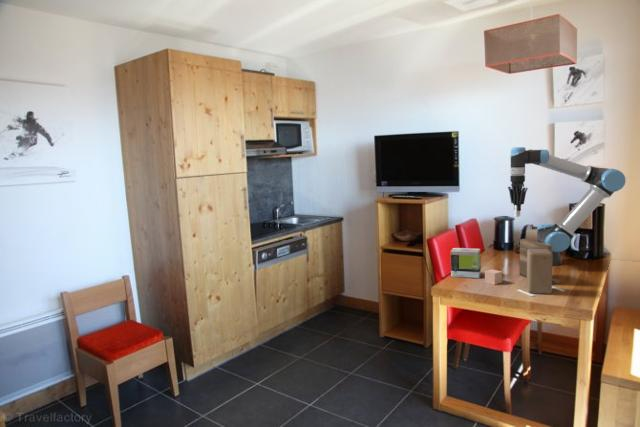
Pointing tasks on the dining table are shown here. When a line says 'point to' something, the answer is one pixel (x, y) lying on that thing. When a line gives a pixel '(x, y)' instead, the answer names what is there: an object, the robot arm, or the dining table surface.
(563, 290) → the strip
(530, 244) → the brown angled piece
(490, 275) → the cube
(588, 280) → the dining table surface
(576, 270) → the dining table surface
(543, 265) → the wooden block
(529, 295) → the strip
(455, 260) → the tea box
